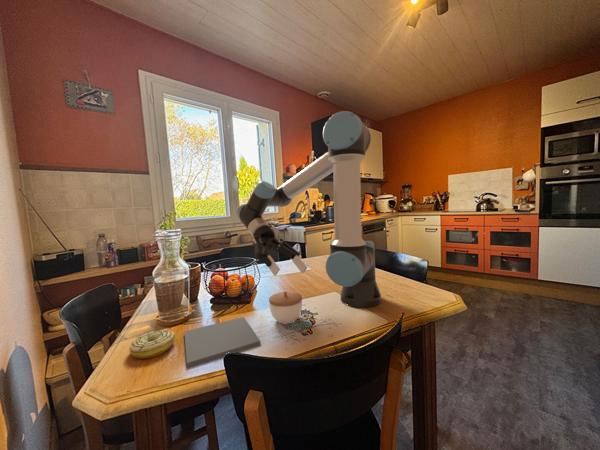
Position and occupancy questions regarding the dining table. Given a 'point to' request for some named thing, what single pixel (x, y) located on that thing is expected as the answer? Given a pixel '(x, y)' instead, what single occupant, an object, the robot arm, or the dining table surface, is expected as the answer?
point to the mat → (218, 340)
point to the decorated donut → (152, 344)
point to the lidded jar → (285, 306)
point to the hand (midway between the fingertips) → (291, 271)
